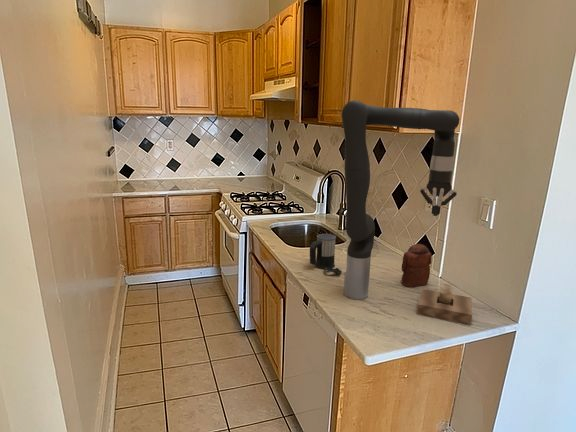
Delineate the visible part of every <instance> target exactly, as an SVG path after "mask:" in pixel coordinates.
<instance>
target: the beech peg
mask: <svg viewBox="0 0 576 432" xmlns="http://www.w3.org/2000/svg"><path fill="white" fill-rule="evenodd" d="M453 289H454V287H453V285H451V284H448V283H442V284H440V289H439V290H440V291H439V292H440V298H439V303H441V304H446V305H450V303H451V297H452V294H453Z"/></svg>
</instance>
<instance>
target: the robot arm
mask: <svg viewBox="0 0 576 432" xmlns="http://www.w3.org/2000/svg"><path fill="white" fill-rule="evenodd" d="M341 119H342V120H341V121H342V127H343V133H344V181H345V196H346V197H345V198H346V216H345V218H346V219H345V232H346V235H347V236H348V238H350V242H349V244H348V246H347V249H346V250H347V251H346V253H347V254H346V269H345V272H344V280H343V282H344V283H343V296H346V297H348V298H349V299H352V300H364V299H367V298H368V297H369V288H370V287H369V286H370V275H371V274H370V273H371V259H372V257H371V256H372V250H373V247H374V243H375V242H374V241H375V235H376V234H375V232H376V225H375V221H374V219H373V217H372V216H371V215H369V214H367V210H366V207H367V206H366V204H367V199H368V195H369V191H370V190H369V189H370V184H371V168H370V167H371V166H370V165H371V164H370V156H369V151H368V146H367V139H366V138H367V137H366V136H367V134H366V133H367V126H373V125H374V126H376V125H377V126H389V127H395V128H401V129H402V128H403V129H412V130H430V131H434V134H433V135H434V136H433V137H434V141H433V146H432V154H431V160H430V163H429V165H430V166H429V174H428V180H427V181H428V182H427V184H426V186H425V187H423V188H421V189H420V190H419V191H420V193H421V195H422V197H423V198H424V200H425V201H426V202H427V204H428V205H429V204H430V205H431V214H432V215H433V216H434V217H438V216H439V215H440V214H441V207H442V206H447V205H448V203H450V202H451V201H452V200H453V199H454V198H455V197H456V196H457V194H458V192H457V190H456V191H455V190H454V189H453V187H452V183H451V182H452V178H453V177H452V176H453V169H454V156H455V146H456V145H455V144H456V142H455V133H456V132H455V131H456V129H457V128H458V126H459V124H460V116H459V115H458V113H456V111H453V110H448V109H447V110H443V109H442V110H440V109H427V108H419V107H382V106H374V105H371V104H367V103H364V102H362V101H360V100H355V99H354V100H351V101H348V102H347V103H346V104H344V106H343V107H342V109H341ZM428 192H429V194H430V195H431V197H432V198H431V197H430V196H429V194H428ZM447 194H448V195H449V196H448V197H447V198H445V199H444V200H443V197H445V196H447ZM437 197H438V199H437Z"/></svg>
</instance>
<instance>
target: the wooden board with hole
mask: <svg viewBox="0 0 576 432" xmlns="http://www.w3.org/2000/svg"><path fill="white" fill-rule="evenodd" d="M439 298H440V291H436V290H432V289H427V288H421V290H420V294H419V297H418V302H417V309H416V315H418V316H419V315H420V316H423V317H429V318H434V319H439V320H443V321H449V322H452V323H459V324H464V325H467V326H471V325H472V318H473V304H472V303H473V302H472V301H473V300H472V299H473V298H472V296H471V297H470V296H463V295H460V294H453V293H452V297H451V303H450V305H446V304H441V303H439Z"/></svg>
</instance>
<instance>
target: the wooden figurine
mask: <svg viewBox="0 0 576 432" xmlns="http://www.w3.org/2000/svg"><path fill="white" fill-rule="evenodd" d="M432 257H433V256H432V253H431V252H430V250H429V248H428V247H427V246H426V245H425V244H422V243H415V244H412V245H411V246H409V248H408V249H407V251H406V252H404V254H403V256H402V264H401V271H402V277H401V281H400V283H401V284H400V285H403V287H409V288H410V287H411V288H415V287H420V286H426V285H427V284H428V282H429V280H430V275H431V266H430V265H431V264H432Z"/></svg>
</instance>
